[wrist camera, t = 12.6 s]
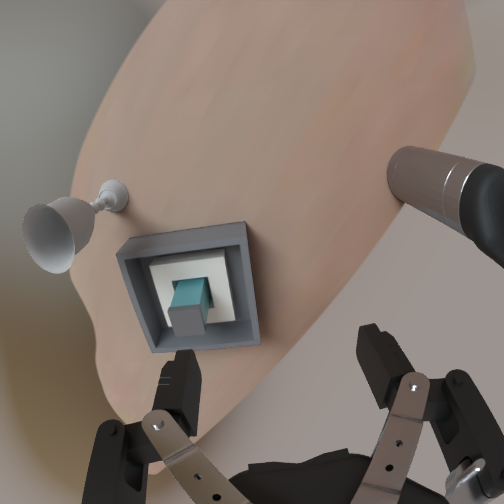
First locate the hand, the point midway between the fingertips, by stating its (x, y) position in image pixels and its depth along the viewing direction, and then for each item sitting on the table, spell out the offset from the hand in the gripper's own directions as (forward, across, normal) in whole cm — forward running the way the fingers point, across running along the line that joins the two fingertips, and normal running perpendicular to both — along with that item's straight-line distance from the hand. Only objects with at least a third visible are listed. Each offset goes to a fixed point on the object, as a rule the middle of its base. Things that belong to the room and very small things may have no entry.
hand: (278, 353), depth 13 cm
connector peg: (+29, +10, +12) cm, 33 cm away
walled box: (+30, +10, +12) cm, 34 cm away
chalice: (+30, +20, -4) cm, 37 cm away
